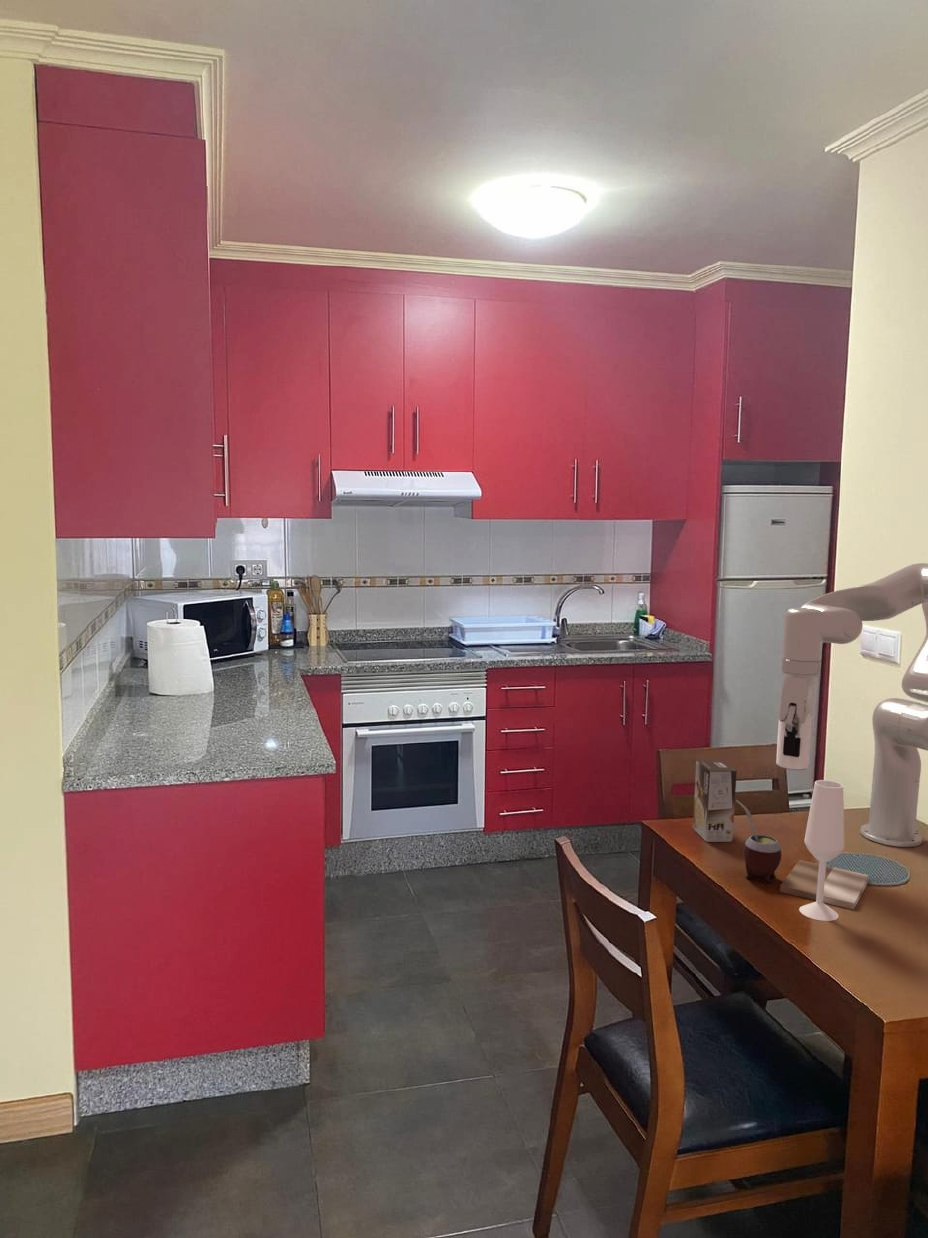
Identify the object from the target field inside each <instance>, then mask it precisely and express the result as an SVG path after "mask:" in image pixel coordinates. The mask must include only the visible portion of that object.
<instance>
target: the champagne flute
mask: <svg viewBox="0 0 928 1238" xmlns="http://www.w3.org/2000/svg"><path fill="white" fill-rule="evenodd" d="M844 800H845V799H844V785H843V783H841V782H838V781H834V780H829V779H828V780H827V779H819V780H815V781H814V785H813V790H812V796H811V801H810V807H809V811H808V812H809V813H808V817H807V824H806V829H805V834H804V845H805V847H806V849H807V850H808V852H809V853H810V854H811V855H812V856H813V857H814V858H815V859H816V860H818V862H819V863H818V864H819V872H818V885H817V897H816V900H815V901H814V902H811V903H810V902H809V903H807V904H804V905H802V906H800V907H799V909H798V911H799V912H800V913H801V914H802V915H803V916H805V917H807V918H808V919H813V920H816V921H817V920H818V921H822V922H831V921H836V920H837V919H838V918H839V917H840V916H839V914H838V913H837V912H836V911H835V910H834V909H832V907H830V906H828V905H827V904H826V903H824V902H823V897H824V885H825V872H826V866H827V862H831V861H832V860H834V859H835V858H836V857H838V856H840V854H841V853H842V852H843V851H844V849H845V812H844V811H845V808H844V806H845V804H844V803H845V802H844Z"/></svg>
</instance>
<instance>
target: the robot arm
mask: <svg viewBox="0 0 928 1238" xmlns="http://www.w3.org/2000/svg"><path fill="white" fill-rule="evenodd" d="M919 605H921V607H922V612H923V616H924V620H925V621H924V622H925V630H926V631H925V637H924V638H923V641H922V643H921V645H920V647H919V649H918V650H917V652H916V654H915V656H914V657H913V659H912V661H910V664H909V666H908V667H907V669H906V671H905V673H904V675H903V677H902V680H901V688H902V691H903V692H904V694H905V695H906V696H908V697H910V698H912V699H914V700H917V701H921V702H924V703H928V562H927V563H924V562H921V563H914V564H910V565H908V566H906V567H903V568H901V569H899V570H897V571H894V572H893V573H891V574H889V575H886V576H884V577H882V578H880V579H878V580H875V581H873V582H870V583H865V584H860V585H856V586H853V587H848V588H844V589H838V590H835V591H832V592H828V593H825V594H823V595H820V596H818V597H816V598H815V597H814V599H811V600H809V601H807V602H806V603H804V604H803V605H801V606H800V607H792V608H789V609H788V610H787V611H786V612H785V615H784V616H785V617H784V628H783V629H784V630H783V642H782V661H781V674H782V675H784V678H783V683H782V687H781V694H780V695H781V696H780V705H779V713H778V721H779V720H780V721H781V722H783V720H785V719H786V716H787V719H786V723H785V725H786V727H785V733H784V746H783V754H784V755H786V756H792V757H799V756H800V743H801V738H799V735H800V728H801V724H803V723H805V721H806V718H807V716H808V714H809V712H810V716H811V718H812V717H813V715H814V714H813V713H814V705H815V688H816V687H815V684H816V681H815V680H816V678H820V677H821V667H822V655H823V654H822V651H823V644H824V643H830V644H837V645H846V644H850V643H852V642H854V641H855V640H857V639H858V638H859V637H860V635H861V633H862V630H863V622H874V621H875V622H876V621H884V620H890V619H893V618H894V617H896V616H899V615H901V614H902V613H904V612H906V611H908V610H911V609H913V608H914V607H917V606H919ZM917 701H913V700H910V699H909V700H908V699H904V698H897V697H896V698H895V697H894V698H893V697H891V698H886V699H884V700H883V699H882V701H880V702H878V704H877V705H876V707H875V708H874V710H873V713H872V720H871V721H872V729H873V739H874V754H873V755H874V756H873V757H874V758H873V769H872V771H873V772H872V779H871V780H872V782H871V791H870V792H871V793H870V804H869V805H870V806H869V815H868V823H865V824H862V825H861V827H860V834H861V835H862V836H863V837H864V838H866V839H868V840H870V841H873V842H875V843H878V844H881V845H887V846H892V847H899V848H900V847H901V848H903V847H904V848H908V847H909V848H910V847H911V848H912V847H917V846H919V845H921V844H922V843H923V836H922V835H921V834H920V833H919V832H917V830H916V825H917V812H918V803H919V802H918V801H919V792H920V791H919V790H920V780H921V773H922V772H921V771H922V760H921V757H920V752H919V750H918V749H920V750H924V751H928V705H927V704H923V703H921V702H917ZM794 719H798V720H799V721H798V723H797V722H794ZM794 725H795V726H797V729H796V728H795V727H793V726H794Z"/></svg>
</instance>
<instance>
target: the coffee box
mask: <svg viewBox="0 0 928 1238" xmlns="http://www.w3.org/2000/svg"><path fill="white" fill-rule="evenodd" d="M695 762H696V763H695V780H694V782H695V783H694V801H693V815H692V816H693V818H692V819H693V820H692V829H693V830H694V832H696V833H697V835H699V836H700V837H701V838H702V839H703V840H704V841H705V842H706V843H714V842H715V843H718V842H719V843H720V842H721V843H727V842H728V843H731V842H732V841H733V836H734V833H733V832H734V819H735V805H736V791H737V790H736V789H737V787H736V786H737V770H736V769H735V768H733V767H732V766H730V765H729V764H727V762H725V761H723V760H722V759H721V760H720V759H719V760H718V759H704V760H701V759H700V760H696V761H695Z"/></svg>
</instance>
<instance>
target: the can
mask: <svg viewBox="0 0 928 1238" xmlns="http://www.w3.org/2000/svg"><path fill="white" fill-rule="evenodd" d="M786 719H787V716H786ZM786 719H785V720H783V722H781V721H780V720H779V719H778V723H777V724H778V727H777V741H776V742H777V743H776V765H777V767H779V768H781V769H783V770H784V769H785V770H789V771H805V770H806V769H808V768H809V767H810V766H809V765H810V753H811V738H812V721H813V720H812V717H811V716H810V712H809V714H808V716H807V718H806V721H805V723H803V724H801V728H800V735H799V738H801V743H800V756H799V757H792V756H786V755H784V754H783V746H784V733H785V727H786V725H785V723H786ZM798 721H799V720H798V719H794V722H797V723H798ZM793 727H795V728H796V729H797V726H795V725H794V726H793Z"/></svg>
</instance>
